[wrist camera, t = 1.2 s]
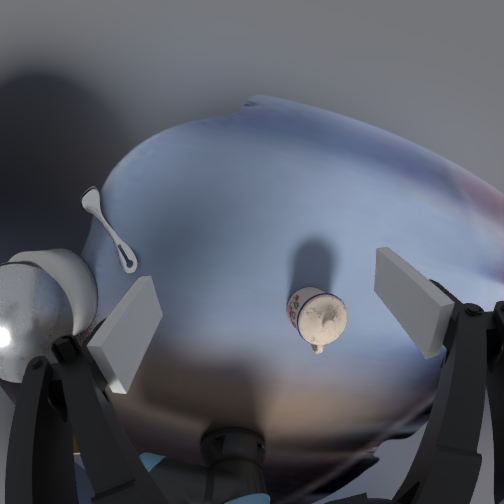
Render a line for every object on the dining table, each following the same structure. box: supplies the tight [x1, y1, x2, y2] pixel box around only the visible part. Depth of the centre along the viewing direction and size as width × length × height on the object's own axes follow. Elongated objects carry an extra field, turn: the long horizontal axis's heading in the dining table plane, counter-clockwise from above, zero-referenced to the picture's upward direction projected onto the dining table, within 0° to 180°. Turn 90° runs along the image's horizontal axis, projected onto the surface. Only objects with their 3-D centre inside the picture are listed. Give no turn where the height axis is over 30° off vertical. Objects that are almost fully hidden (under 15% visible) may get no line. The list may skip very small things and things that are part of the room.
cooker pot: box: [9, 248, 98, 336], centre depth 40 cm, size 19×19×12 cm
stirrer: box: [80, 186, 138, 273], centre depth 46 cm, size 20×4×5 cm
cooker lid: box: [0, 262, 74, 383], centre depth 25 cm, size 19×21×2 cm
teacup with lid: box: [287, 287, 347, 354], centre depth 46 cm, size 12×9×12 cm
